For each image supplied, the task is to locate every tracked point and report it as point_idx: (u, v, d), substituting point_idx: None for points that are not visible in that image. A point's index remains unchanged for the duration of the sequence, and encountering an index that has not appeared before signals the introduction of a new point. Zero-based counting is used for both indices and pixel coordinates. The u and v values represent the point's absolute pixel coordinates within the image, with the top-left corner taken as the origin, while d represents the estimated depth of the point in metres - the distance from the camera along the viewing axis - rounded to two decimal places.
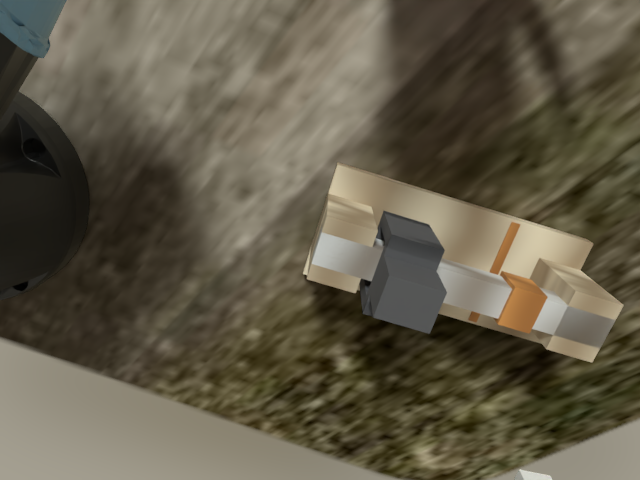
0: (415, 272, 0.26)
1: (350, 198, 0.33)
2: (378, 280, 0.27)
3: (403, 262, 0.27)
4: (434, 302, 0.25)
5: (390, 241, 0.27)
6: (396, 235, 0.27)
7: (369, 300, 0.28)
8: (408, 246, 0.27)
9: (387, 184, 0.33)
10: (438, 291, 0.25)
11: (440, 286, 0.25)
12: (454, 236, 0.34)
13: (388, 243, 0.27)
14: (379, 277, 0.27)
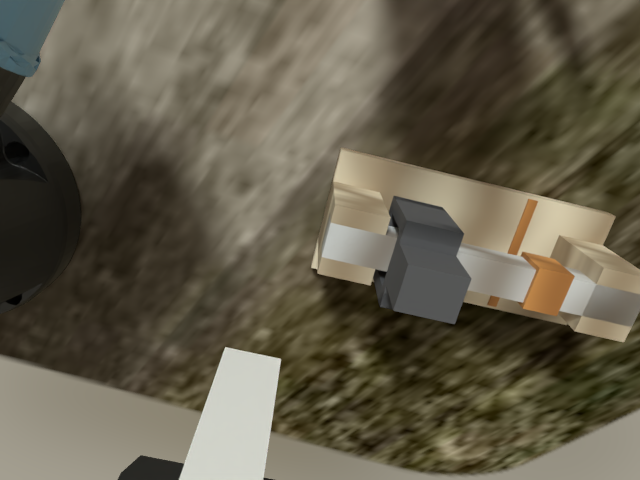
0: (435, 259, 0.24)
1: (356, 185, 0.32)
2: (395, 270, 0.25)
3: (420, 249, 0.25)
4: (458, 290, 0.23)
5: (405, 227, 0.25)
6: (411, 221, 0.25)
7: (386, 292, 0.26)
8: (425, 232, 0.25)
9: (395, 167, 0.31)
10: (462, 278, 0.23)
11: (463, 272, 0.23)
12: (468, 218, 0.32)
13: (403, 230, 0.25)
14: (396, 267, 0.25)
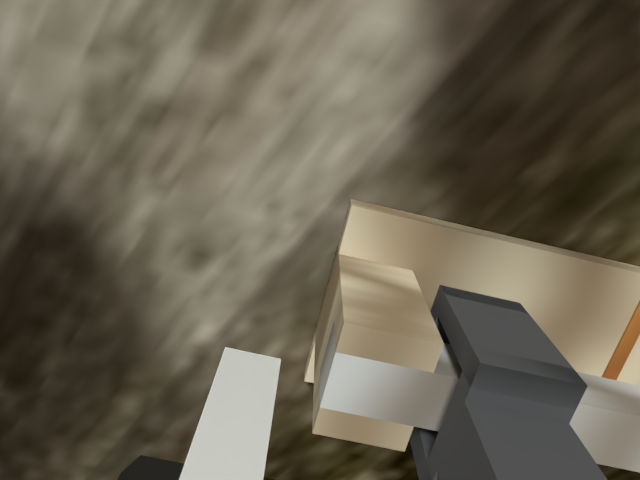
0: (539, 446, 0.13)
1: (376, 259, 0.20)
2: (459, 459, 0.13)
3: (504, 413, 0.14)
4: None
5: (477, 376, 0.13)
6: (489, 363, 0.13)
7: None
8: (514, 383, 0.13)
9: (438, 233, 0.19)
10: None
11: None
12: (552, 309, 0.20)
13: (473, 378, 0.13)
14: (461, 452, 0.13)
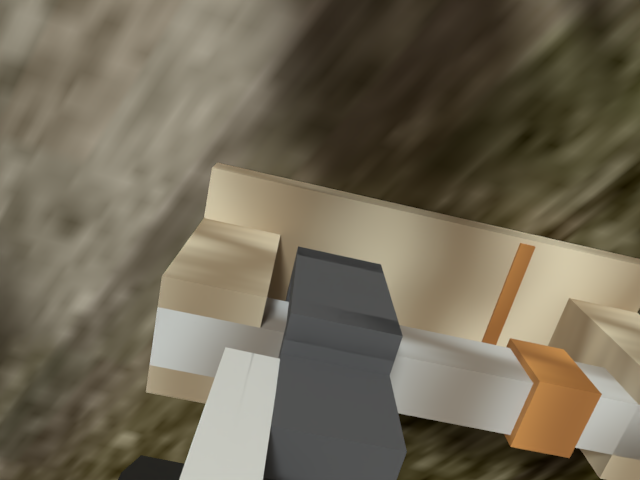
0: (341, 394, 0.12)
1: (242, 223, 0.19)
2: None
3: (320, 365, 0.13)
4: (380, 472, 0.11)
5: (289, 326, 0.13)
6: (301, 313, 0.13)
7: None
8: (327, 333, 0.13)
9: (303, 195, 0.19)
10: (386, 451, 0.11)
11: (392, 430, 0.12)
12: (425, 273, 0.20)
13: (287, 330, 0.13)
14: None
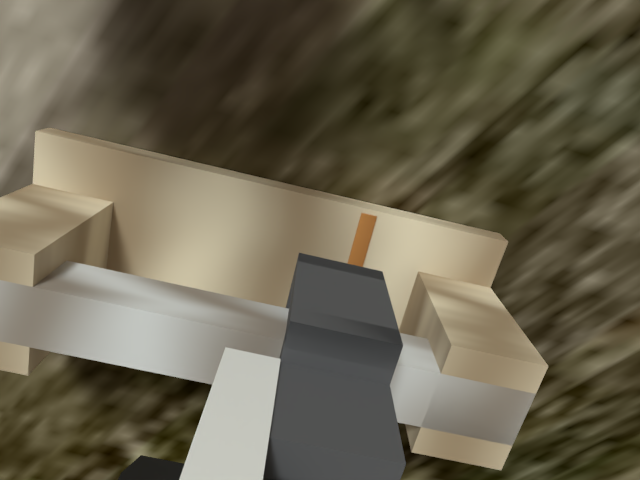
0: (340, 404, 0.12)
1: (73, 190, 0.19)
2: None
3: (319, 374, 0.13)
4: None
5: (289, 334, 0.13)
6: (300, 321, 0.13)
7: None
8: (327, 342, 0.13)
9: (132, 161, 0.19)
10: (385, 463, 0.11)
11: (391, 442, 0.11)
12: (267, 244, 0.20)
13: (286, 338, 0.13)
14: None
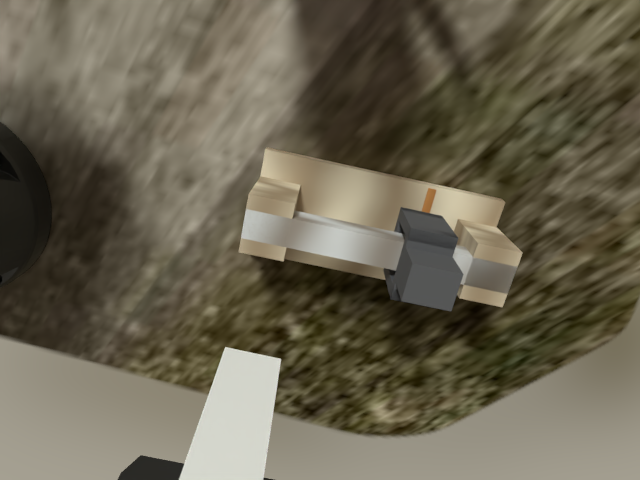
0: (434, 259, 0.30)
1: (280, 179, 0.37)
2: (402, 269, 0.31)
3: (423, 251, 0.31)
4: (453, 284, 0.29)
5: (410, 234, 0.31)
6: (415, 228, 0.31)
7: (395, 287, 0.32)
8: (426, 237, 0.31)
9: (312, 163, 0.37)
10: (456, 274, 0.29)
11: (457, 269, 0.29)
12: (378, 205, 0.37)
13: (408, 236, 0.31)
14: (403, 266, 0.31)
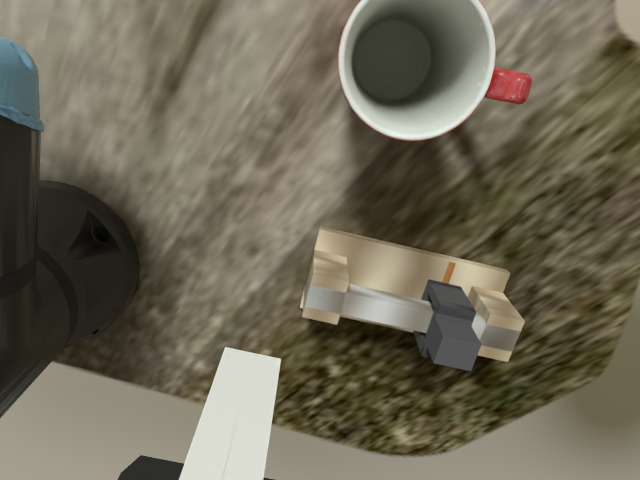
0: (458, 330, 0.39)
1: (330, 252, 0.46)
2: (433, 336, 0.40)
3: (449, 322, 0.40)
4: (473, 351, 0.38)
5: (439, 308, 0.40)
6: (443, 304, 0.40)
7: (426, 347, 0.41)
8: (451, 311, 0.40)
9: (356, 241, 0.45)
10: (475, 344, 0.38)
11: (476, 339, 0.38)
12: (408, 274, 0.46)
13: (438, 310, 0.40)
14: (433, 334, 0.40)
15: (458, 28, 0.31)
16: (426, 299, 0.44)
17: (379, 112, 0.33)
